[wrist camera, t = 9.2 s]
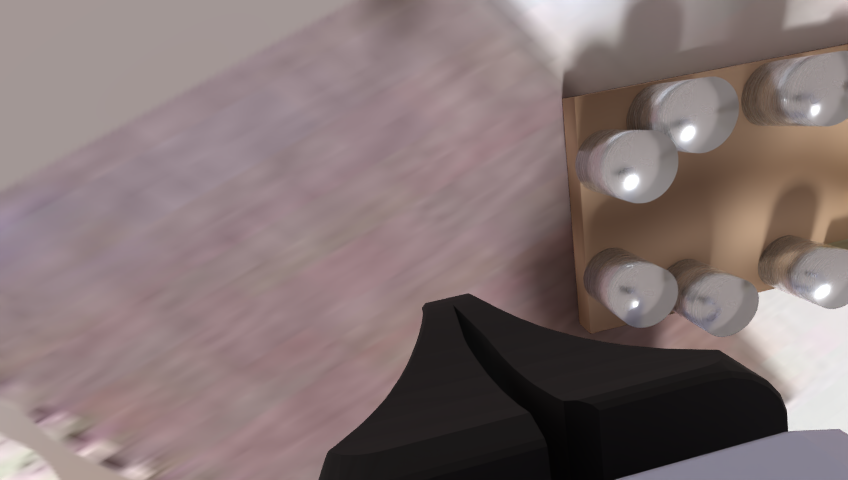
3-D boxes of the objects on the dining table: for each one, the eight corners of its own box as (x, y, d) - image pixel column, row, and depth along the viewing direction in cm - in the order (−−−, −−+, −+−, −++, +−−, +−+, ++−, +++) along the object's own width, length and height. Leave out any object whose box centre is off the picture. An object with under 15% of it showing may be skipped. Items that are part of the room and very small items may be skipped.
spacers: (803, 279, 24) (864, 301, 21) (587, 333, 22) (619, 363, 20) (826, 50, 20) (904, 38, 17) (570, 100, 19) (607, 96, 16)
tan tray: (913, 242, 26) (975, 255, 23) (579, 323, 24) (605, 348, 21) (953, 23, 22) (1031, 10, 19) (562, 98, 20) (591, 95, 17)
